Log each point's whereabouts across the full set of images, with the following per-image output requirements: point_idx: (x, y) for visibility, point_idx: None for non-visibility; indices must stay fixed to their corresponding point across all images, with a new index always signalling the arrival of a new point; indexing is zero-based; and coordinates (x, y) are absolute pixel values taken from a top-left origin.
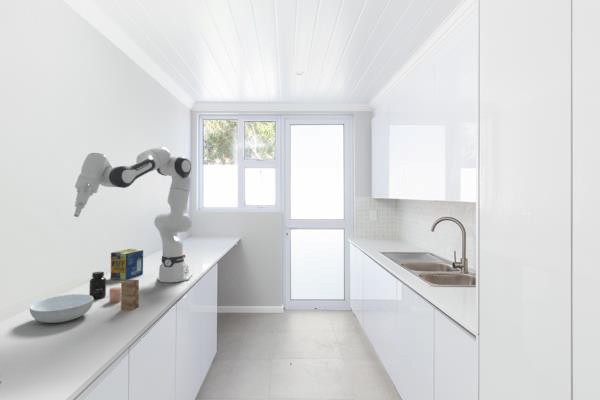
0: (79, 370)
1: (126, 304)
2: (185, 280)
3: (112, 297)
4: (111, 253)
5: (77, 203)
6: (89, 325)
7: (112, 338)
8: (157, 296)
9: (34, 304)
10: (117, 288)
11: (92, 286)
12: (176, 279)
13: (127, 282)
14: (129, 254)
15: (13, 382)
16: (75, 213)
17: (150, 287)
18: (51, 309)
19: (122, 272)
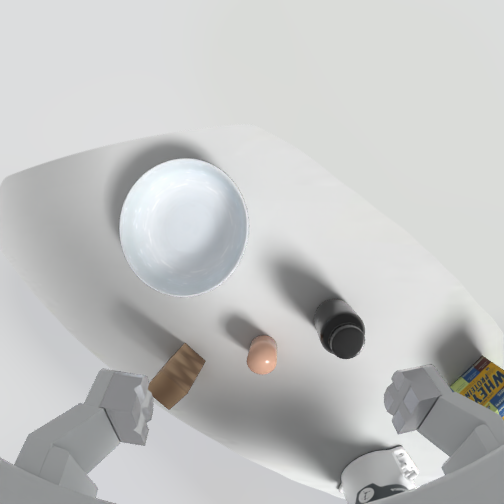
0: (6, 238)
1: (173, 355)
2: (339, 487)
3: (252, 345)
4: None
5: (64, 489)
6: (119, 269)
7: (55, 289)
8: (247, 426)
9: (207, 166)
10: (260, 366)
11: (326, 313)
12: (343, 478)
13: (151, 381)
14: None
15: (14, 179)
16: (101, 371)
17: (340, 430)
18: (232, 204)
19: (465, 389)
